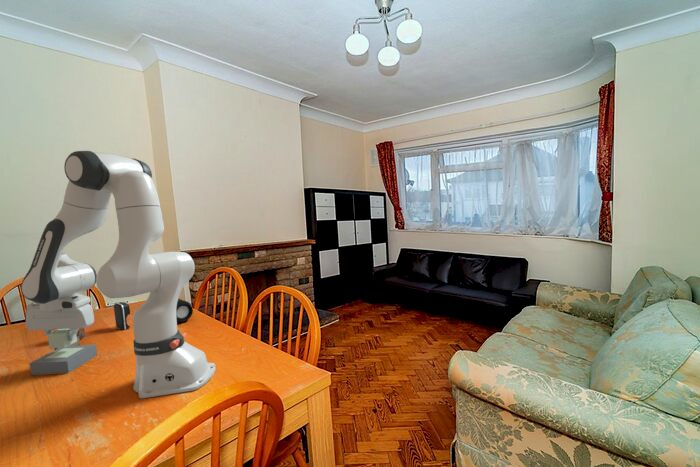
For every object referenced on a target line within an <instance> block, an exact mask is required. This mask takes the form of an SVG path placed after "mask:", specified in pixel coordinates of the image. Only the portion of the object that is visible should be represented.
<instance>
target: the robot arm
mask: <svg viewBox="0 0 700 467" xmlns="http://www.w3.org/2000/svg"><path fill="white" fill-rule="evenodd" d="M64 173H65V177H67V178H66V179H68V182H67V184H66V188H65V193H64V197H63V202H62V205H61V208H60V210H59V212H57V213H58V214H57V215H56V216H55V217H54V218H53V219H52V220H50V221H49V222H48V223H47V224H46V225H45V228H44V229H43V231H42V234H41V237H40V239H39V242H38V245H37V248H36V251H35V254H34V256H33V259H32V261H31V264H30V267H29V270H28V271H27V273H26V274H25V276H24V277H23V279H22V282H21V286H20V290H21V294H22V295H23V297H24V298H25V299H27V300H28V301H31V302H30V303H29V304H27V305H26V314H25V327H26V329H27V330H28V331H40V330H41V331H43V333H44V334H45V335H46V337H47V338H48V334H49V333H52V332H54V331H55V330H58V329H70V331H72V332H71V334H70V335H69V336H68V341H73V340H75V339H76V338H77V337H76V334H77V332H78V330H79V328H84V329H86V328H88V327H90V326H91V325H93V324H94V322H95V315H94V310H93V307H92V305H91V304H90V303H91V297H90V296H88V295H83V294H81V292H85V291H88V290H89V289H92V288H93V287H94V286H95V284H96V286H97V288H98V290H99V291H100V293H101V295H103V296H105V297H106V298H108V299H121V298H131V297H136V296H140V295H144V294H147V293H149V294H148V297H147V299H146V300H145V301H144V302H143V303H142V304H141V305H140V306H139V307H137V308H136V309H135V311H134V313H133V314H132V315H133V316H132V325H133V335H134V339H133V340H132V341H133V342H132V343H133V352H134V355H135V357H136V358H135V359H136V360H135V361H136V362H135V365H136V366H135V376H134V382H133V387H132V389H133V390H134V392H136V393H138V397H139V399H146V398H151V397H152V398H153V397H154V398H155V397H159V396H160V397H161V396H166V395H173V394H178V393H179V394H180V393H185V392H191V391H196V390H198V389H199V388H202V387H203V386H204V385H205V384H207V383H208V382H209V380H210V379H211V378H212V377H213V376H214V374H215V372H216V367H217V366H216V364H215V363H214V362H208V359H207V356H206V353H205V352H204V351H203V350H201V349H199V348H197V347H195V346H194V345H191V344H190V343H188V342H186V341H185V339H184V338H186V336H187V332H184V333H182V334H181V332H180V331H179V329H178V322H177V317H176V308H177V302H178V299H180V298H179V297H180V295H181V293H182V291H183V289H184V288H185V286H186V284H188V282H189V281H190V280H191V279H192V277H193V276H194V274H195V271H196V270H195V267H196V265H195V262H194V259H193V258H192V256H191V255H190V254H188V252H186V251H164V252H157V253H151V254H149V253H150V252H149V251H150V246H151V245H152V244H153V242H156V240H158V239H159V238H160V237H162V235H163V234H164V232H165V223H164V219H163V213H162V207H161V201H160V199H159V198H160V197H159V194H158V191H157V187H156V185H155V183H154V181H153V173H152V170H151V168H150V166H149V165H148V164H147V163H146V162H144V161H142V160H140V159H136V158H130V157H125V156H122V155H117V154H114V153H110V152H109V153H107V152H98V151H97V152H96V151H92V150H91V151H90V150H75V151H73V152H71V153H69V155H68V156H67V157H66V159H65V161H64ZM111 196H113V197H114V205H115V213H116V218H117V225H118V242H117V245H116V248H115V251H114V253H113V254H112V256H111V257H110V258H109V259H108V260H107V261H106V262H105V263H104V264H102V266H101V267H100V268H99V270H98V271H96V270H95V267H94V266H92V265H90V264H89V263H86V262H85V263H83V262H79V261H76V260H74V259H72V258H70V257H69V255H68V254H67V253H63V251H64V249H65V248H66V246H68V245H69V243H71V242H72V241H74V240H77V238H79V237H81V236H84V235H86V234H89V233H92V232H94V231H97V230H98V229H99V228H101V227H103V225H104V224H105V223H106V221H107V217H108V214H109V208H110V202H111V201H110V200H111ZM53 330H54V331H53Z"/></svg>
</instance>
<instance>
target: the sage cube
mask: <svg viewBox="0 0 700 467" xmlns="http://www.w3.org/2000/svg"><path fill="white" fill-rule="evenodd" d="M71 332H72V331H70V329H55V330H54V331H53V332H52V333H49V334H48V337H47V340H48V349H50V350H51V349H52V350H53V349H54V348H65V347H67V346H69V345H71V344H73V343H75V342H77V338H76V339H75V340H73V341H68V336H69V335H70V334H71ZM76 337H77V336H76Z"/></svg>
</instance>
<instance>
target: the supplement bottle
mask: <svg viewBox="0 0 700 467" xmlns="http://www.w3.org/2000/svg"><path fill="white" fill-rule="evenodd" d="M85 333H86V332H85V328H79V330H78V332H77V334H76V336H77V337H79V340H82V339H84V338H85V336H86V334H85Z"/></svg>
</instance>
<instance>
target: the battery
mask: <svg viewBox="0 0 700 467" xmlns="http://www.w3.org/2000/svg"><path fill="white" fill-rule="evenodd" d="M113 312H114V321H115V327H116V328H117V329H119V330H122V331H124V330H127V329H130V327H131V326H130V325H129V324H128V322H127V320H128V319H127V318H128V316H129V315H131V308H130V304H128V303H127V302H122V301H121V302H117V303H115V304H113Z"/></svg>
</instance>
